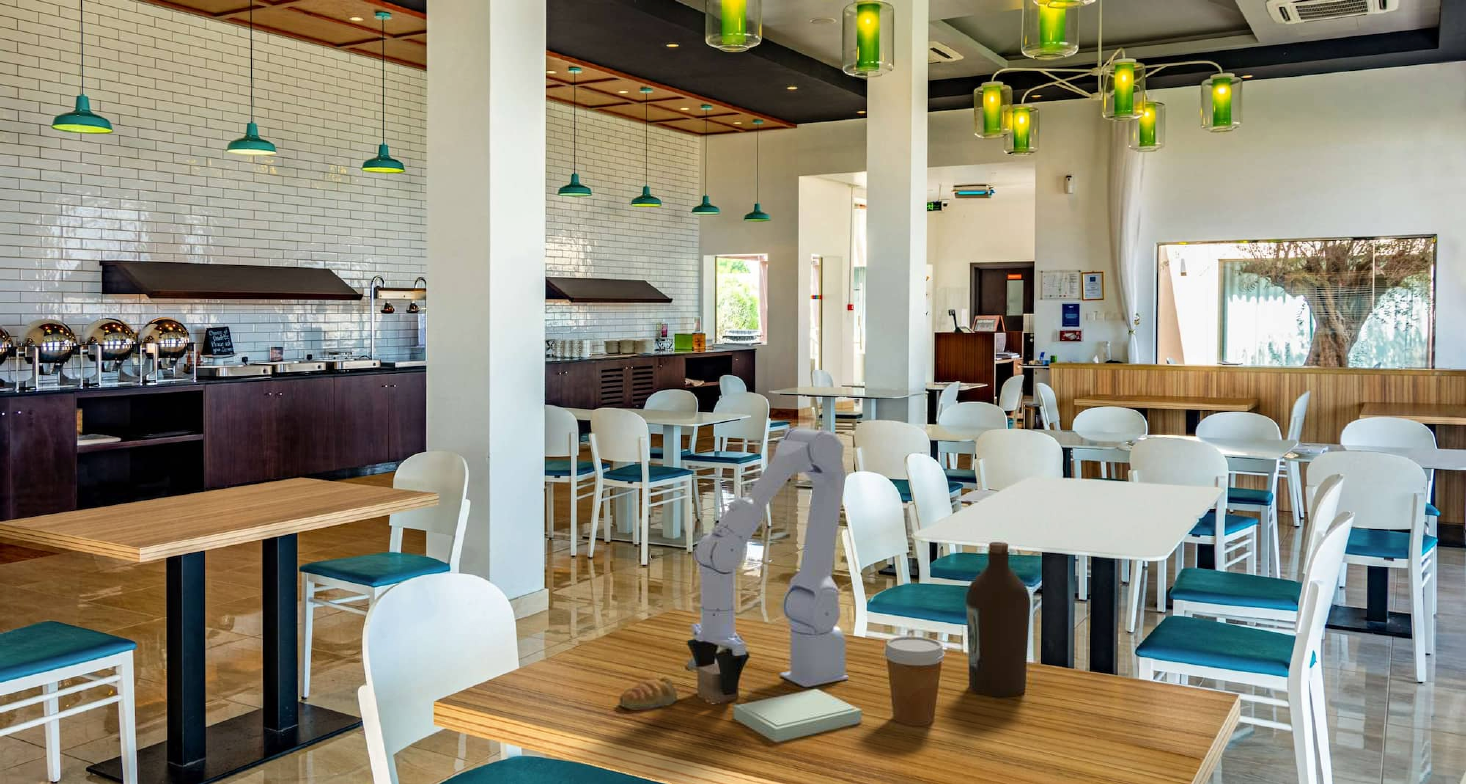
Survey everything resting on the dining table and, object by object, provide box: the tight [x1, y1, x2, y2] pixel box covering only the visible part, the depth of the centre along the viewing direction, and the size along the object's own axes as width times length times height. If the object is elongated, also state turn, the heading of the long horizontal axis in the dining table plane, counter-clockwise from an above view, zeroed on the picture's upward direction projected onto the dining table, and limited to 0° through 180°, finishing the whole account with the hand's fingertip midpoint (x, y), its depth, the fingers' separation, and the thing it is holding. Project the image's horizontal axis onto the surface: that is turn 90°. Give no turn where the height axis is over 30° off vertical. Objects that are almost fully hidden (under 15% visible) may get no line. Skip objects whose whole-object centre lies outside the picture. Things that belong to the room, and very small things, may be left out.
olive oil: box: [965, 541, 1031, 698], centre depth 183 cm, size 11×11×25 cm
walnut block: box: [696, 663, 740, 704], centre depth 179 cm, size 5×5×5 cm
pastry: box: [618, 676, 678, 711], centre depth 176 cm, size 9×7×4 cm
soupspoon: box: [686, 634, 744, 671], centre depth 203 cm, size 22×3×7 cm
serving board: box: [733, 688, 863, 743], centre depth 168 cm, size 16×12×2 cm
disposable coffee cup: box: [883, 635, 946, 727], centre depth 168 cm, size 10×10×12 cm
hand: (717, 687), depth 179 cm, fingers open, 7 cm apart
